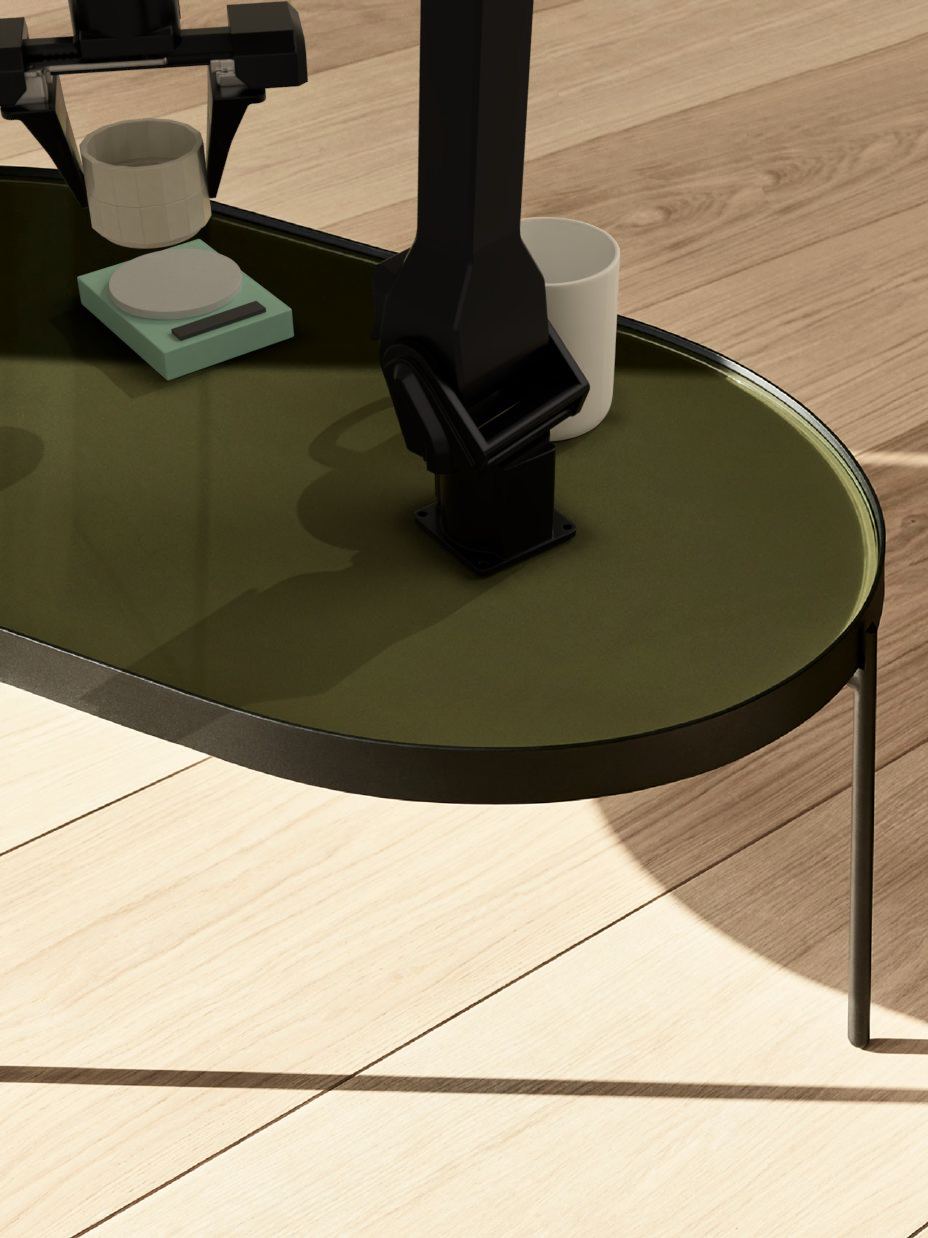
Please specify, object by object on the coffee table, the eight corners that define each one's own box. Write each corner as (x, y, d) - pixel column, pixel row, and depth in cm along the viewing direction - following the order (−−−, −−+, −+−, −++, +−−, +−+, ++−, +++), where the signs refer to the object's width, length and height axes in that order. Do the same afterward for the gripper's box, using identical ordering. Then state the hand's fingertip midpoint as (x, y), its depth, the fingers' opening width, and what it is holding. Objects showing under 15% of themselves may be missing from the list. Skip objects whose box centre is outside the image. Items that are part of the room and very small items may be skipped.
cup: (559, 461, 95) (564, 300, 88) (394, 394, 101) (387, 239, 94) (639, 397, 100) (648, 241, 93) (477, 338, 106) (476, 186, 99)
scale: (294, 336, 106) (291, 300, 104) (167, 381, 102) (162, 343, 100) (202, 265, 114) (198, 229, 112) (81, 303, 110) (74, 267, 108)
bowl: (233, 230, 97) (224, 147, 93) (127, 263, 94) (114, 179, 90) (175, 188, 101) (165, 108, 98) (72, 219, 98) (59, 137, 95)
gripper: (281, -137, 94) (299, 130, 104) (-63, -120, 91) (-10, 152, 101) (299, -73, 85) (317, 211, 95) (-79, -52, 83) (-20, 237, 93)
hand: (149, 199), depth 96 cm, fingers closed on bowl, 7 cm apart
